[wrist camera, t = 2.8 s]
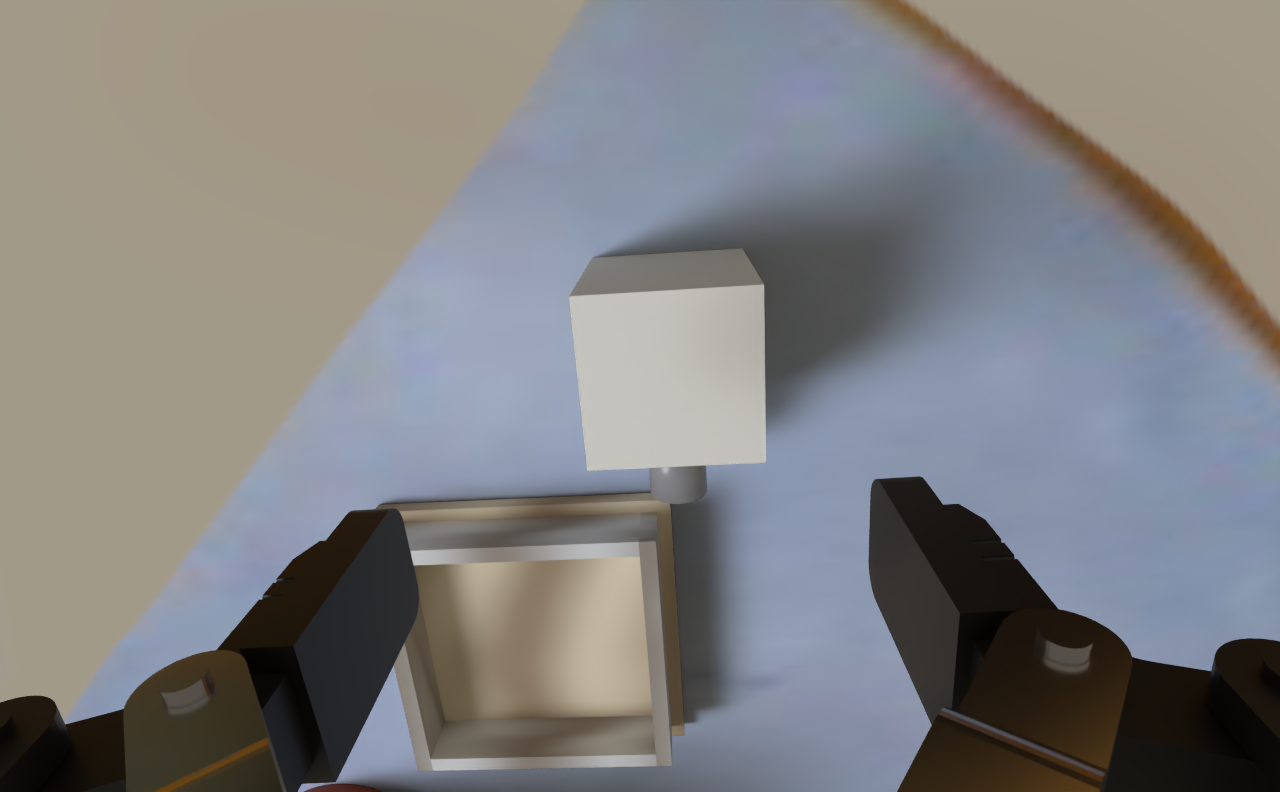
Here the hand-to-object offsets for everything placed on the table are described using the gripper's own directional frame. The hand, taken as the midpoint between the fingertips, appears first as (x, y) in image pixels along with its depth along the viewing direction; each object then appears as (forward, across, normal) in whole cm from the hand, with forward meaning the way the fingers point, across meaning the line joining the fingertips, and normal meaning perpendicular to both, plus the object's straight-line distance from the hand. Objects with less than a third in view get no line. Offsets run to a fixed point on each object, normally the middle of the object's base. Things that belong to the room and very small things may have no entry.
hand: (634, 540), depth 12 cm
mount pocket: (+14, +5, +12) cm, 19 cm away
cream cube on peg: (+14, -1, 0) cm, 14 cm away
